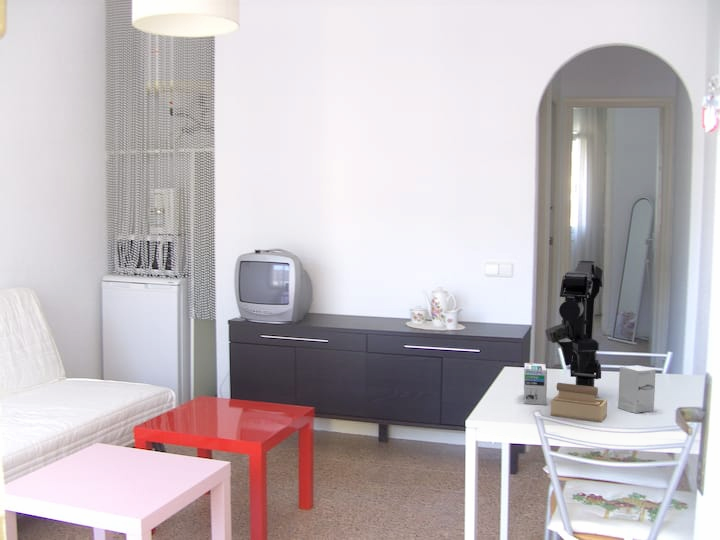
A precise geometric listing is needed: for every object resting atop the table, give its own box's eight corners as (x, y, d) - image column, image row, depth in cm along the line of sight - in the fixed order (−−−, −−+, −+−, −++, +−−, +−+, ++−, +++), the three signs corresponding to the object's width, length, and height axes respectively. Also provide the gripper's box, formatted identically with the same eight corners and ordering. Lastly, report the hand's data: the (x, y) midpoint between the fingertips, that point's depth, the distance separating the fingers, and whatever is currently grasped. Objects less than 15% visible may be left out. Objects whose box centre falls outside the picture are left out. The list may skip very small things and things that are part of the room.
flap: (555, 397, 219) (555, 381, 219) (600, 403, 213) (601, 386, 213) (553, 399, 217) (553, 383, 216) (598, 405, 211) (599, 388, 210)
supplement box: (635, 413, 221) (637, 370, 220) (617, 407, 228) (618, 366, 227) (654, 411, 224) (656, 369, 223) (636, 405, 230) (637, 364, 230)
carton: (558, 409, 225) (558, 394, 225) (606, 415, 218) (607, 400, 218) (550, 415, 218) (550, 399, 217) (600, 422, 211) (601, 406, 211)
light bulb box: (546, 405, 229) (547, 370, 229) (523, 404, 231) (524, 368, 230) (545, 397, 240) (546, 363, 239) (523, 396, 241) (524, 362, 240)
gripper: (536, 311, 228) (535, 363, 229) (562, 322, 209) (560, 377, 211) (571, 310, 229) (570, 361, 231) (600, 321, 211) (598, 376, 213)
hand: (574, 369), depth 221 cm, fingers open, 9 cm apart
